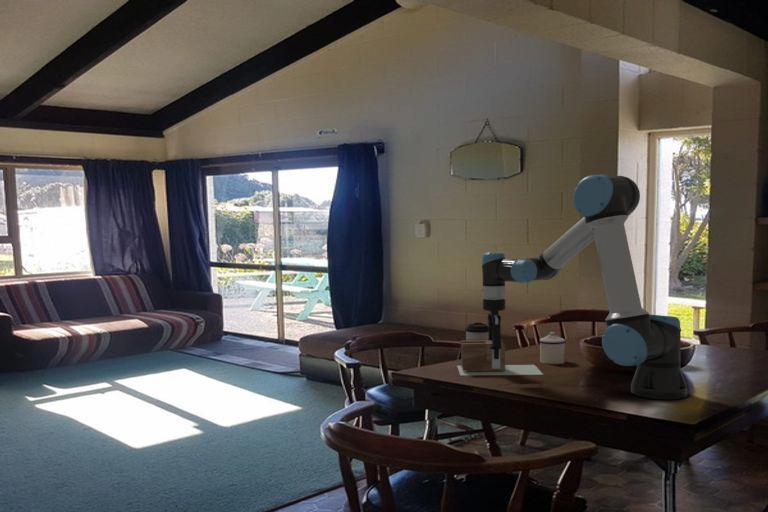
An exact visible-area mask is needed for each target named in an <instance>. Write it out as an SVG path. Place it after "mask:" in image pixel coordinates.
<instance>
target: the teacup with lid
mask: <svg viewBox="0 0 768 512" xmlns="http://www.w3.org/2000/svg"><path fill="white" fill-rule="evenodd" d="M539 362H540V363H543V364H546V365H547V364H548V365H559V364H560V365H561V364H565V363H566V340H565V338H562V337H561V336H559V335H558V334H557V335H556V332H554V331H551V332H549V333H548V334H547V335H546V336H543V337H541V338H539Z"/></svg>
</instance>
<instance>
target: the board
mask: <svg viewBox="0 0 768 512" xmlns="http://www.w3.org/2000/svg"><path fill="white" fill-rule="evenodd" d="M456 367H457V369H458V373H459V375H460V376H525V375H527V376H536V375H537V376H538V375H539V376H541V375H542V376H543V375H545V374H544V373H543V372H542V371H541V370H540V369H539V368H538V367H537V366H536V364H505V370H494V371H463V368H462V367H461V365H456Z"/></svg>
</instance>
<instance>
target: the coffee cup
mask: <svg viewBox="0 0 768 512" xmlns="http://www.w3.org/2000/svg"><path fill="white" fill-rule="evenodd" d="M464 329H465V336H466V337H465V341H466V340H488V324H486V323H482V322H474V323H470V324H468V325H467V326H466V327H465V328H464Z"/></svg>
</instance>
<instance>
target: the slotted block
mask: <svg viewBox="0 0 768 512" xmlns="http://www.w3.org/2000/svg"><path fill="white" fill-rule="evenodd" d="M490 347H492V340H466V339H465V340H460V351H461V353H460V357H461V365H460V366H461V367H462V368H463V371H494V370H505V365H506V344H505V342H504V340H503V339H501V348H500V368H498V369H492V349H490Z"/></svg>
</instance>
